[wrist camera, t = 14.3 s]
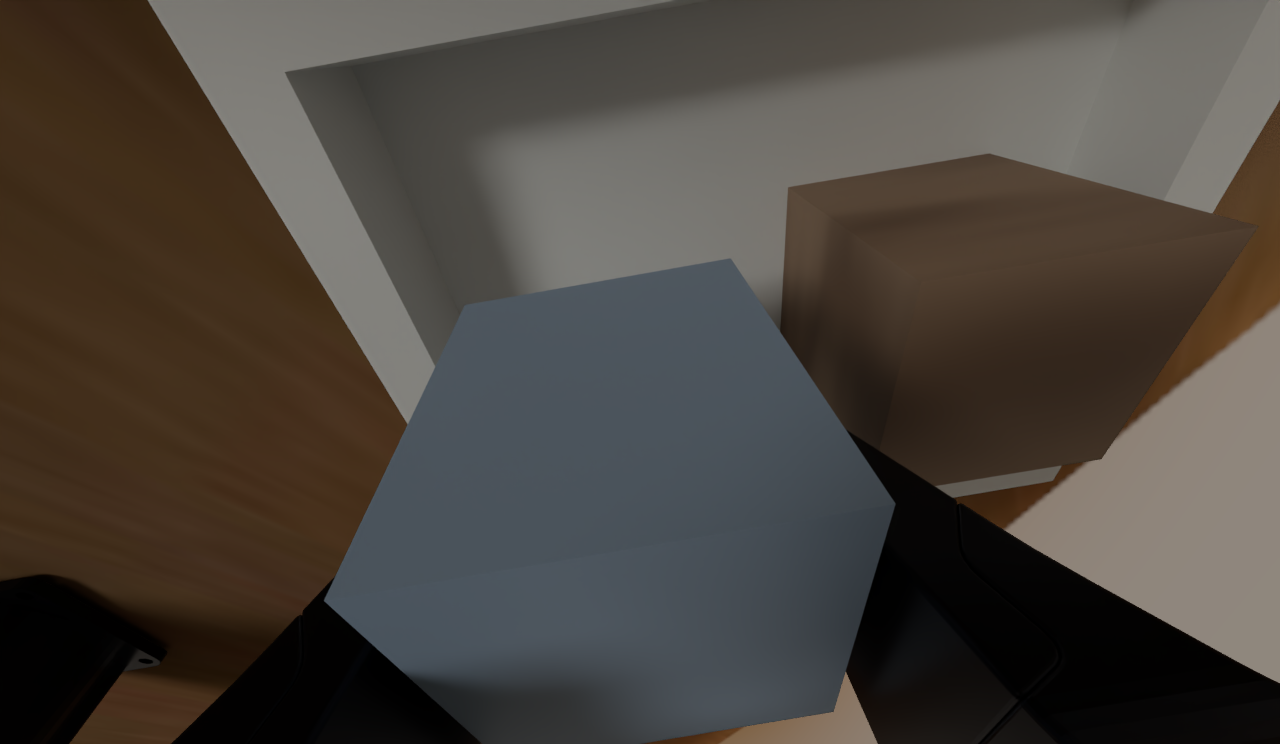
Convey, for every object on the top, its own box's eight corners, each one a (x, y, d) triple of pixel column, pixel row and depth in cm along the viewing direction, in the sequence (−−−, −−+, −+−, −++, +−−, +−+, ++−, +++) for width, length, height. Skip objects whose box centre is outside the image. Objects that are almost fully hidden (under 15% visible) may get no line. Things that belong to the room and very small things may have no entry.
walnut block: (938, 327, 13) (1101, 459, 9) (779, 353, 13) (867, 497, 9) (988, 153, 10) (1258, 225, 6) (787, 187, 10) (920, 282, 6)
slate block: (736, 447, 10) (833, 712, 6) (538, 481, 10) (506, 765, 6) (731, 258, 8) (896, 504, 3) (465, 305, 8) (323, 601, 4)
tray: (983, 415, 16) (1052, 480, 14) (512, 495, 16) (499, 573, 14) (1224, -181, 8) (1506, -282, 5) (269, -4, 8) (131, -26, 6)
